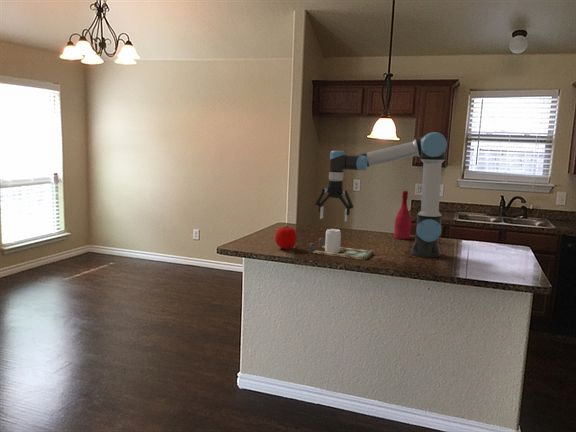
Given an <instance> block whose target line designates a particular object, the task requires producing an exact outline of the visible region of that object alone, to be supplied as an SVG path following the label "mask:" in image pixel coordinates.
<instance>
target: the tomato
mask: <svg viewBox="0 0 576 432" xmlns="http://www.w3.org/2000/svg"><path fill="white" fill-rule="evenodd" d="M274 240H275V243H276V245H277V246H278V247H279V248H281V249H285V250H291V249H293V248H294V246H295V245H296V243H297V232H296V230H295V229H294V228H293V227H291V226H288V225H286V226H282V227H279V228H278V229H277V230H276V231H275V234H274Z"/></svg>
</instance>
